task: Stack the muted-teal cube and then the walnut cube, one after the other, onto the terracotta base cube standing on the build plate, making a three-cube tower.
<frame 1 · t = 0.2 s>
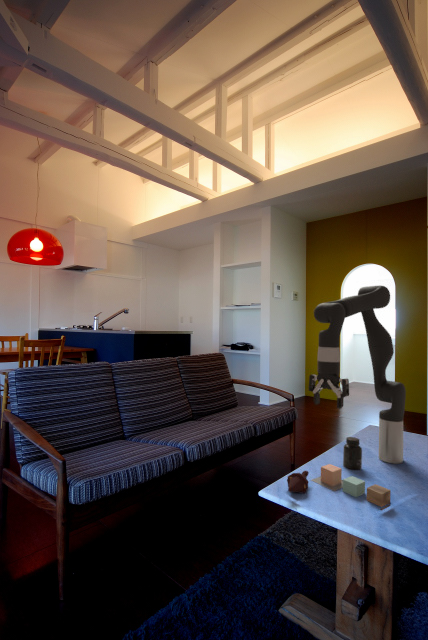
hand: (327, 406, 124), 28 cm above the table, fingers open, 8 cm apart
walnut brick: (378, 504, 112), on the table
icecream: (297, 494, 118), on the table
base brick: (330, 481, 125), point 1 cm above the table, touching build plate
teal brick: (353, 495, 118), on the table
supplement bottle: (352, 469, 139), on the table
build plate: (330, 484, 125), on the table
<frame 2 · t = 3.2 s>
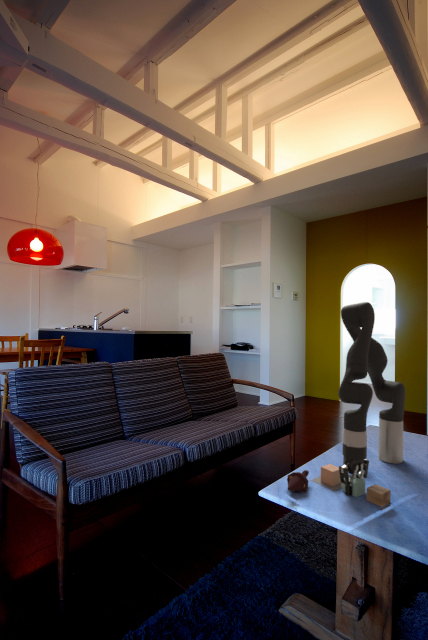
hand: (353, 493, 118), 0 cm above the table, fingers closed on teal brick, 5 cm apart
teal brick: (353, 495, 118), on the table, touching gripper
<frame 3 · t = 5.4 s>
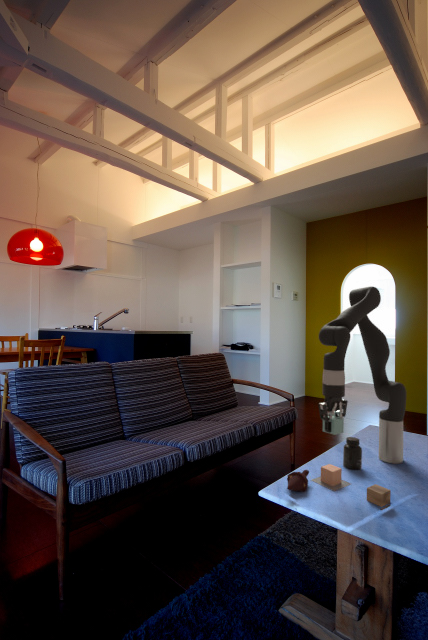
hand: (332, 430, 125), 19 cm above the table, fingers closed on teal brick, 5 cm apart
teal brick: (332, 431, 125), point 19 cm above the table, touching gripper
when the fingers open (7 cm above the table, at t = 8.1 s): teal brick stays where it is, resting on base brick.
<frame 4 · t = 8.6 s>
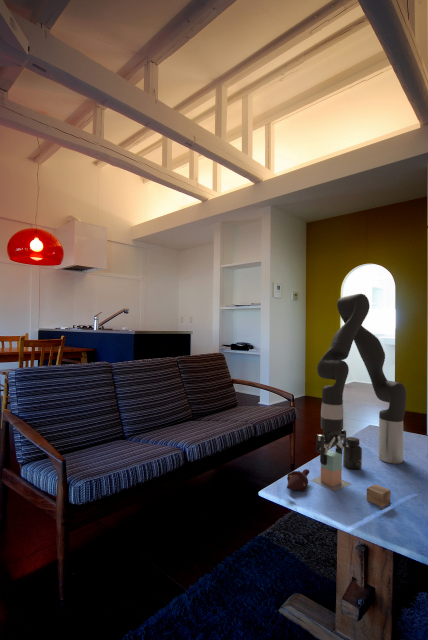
hand: (331, 461, 125), 8 cm above the table, fingers open, 8 cm apart
base brick: (330, 481, 125), point 1 cm above the table, touching build plate, teal brick
teal brick: (331, 467, 125), point 6 cm above the table, touching base brick
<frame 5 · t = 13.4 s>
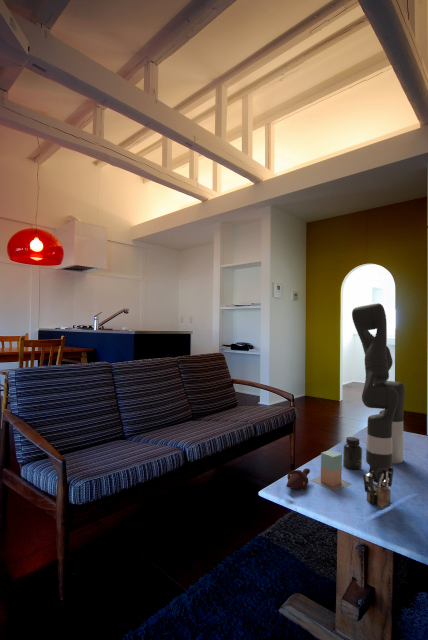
hand: (378, 502, 112), 0 cm above the table, fingers closed on walnut brick, 5 cm apart
walnut brick: (378, 504, 112), on the table, touching gripper
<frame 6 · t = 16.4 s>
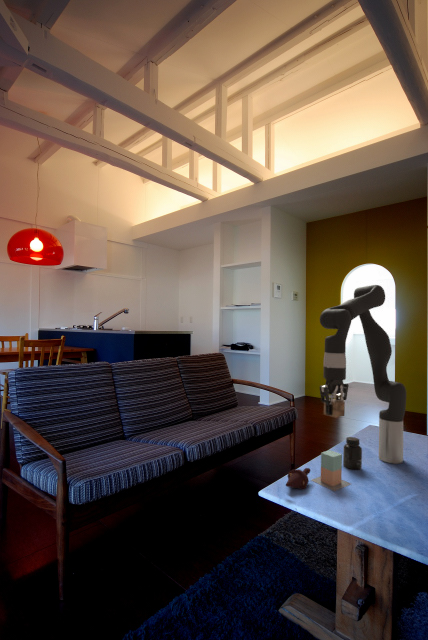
hand: (333, 413, 125), 25 cm above the table, fingers closed on walnut brick, 5 cm apart
walnut brick: (334, 415, 125), point 25 cm above the table, touching gripper
when the fingers open (12 cm above the table, at t = 19.4 s): walnut brick stays where it is, resting on teal brick.
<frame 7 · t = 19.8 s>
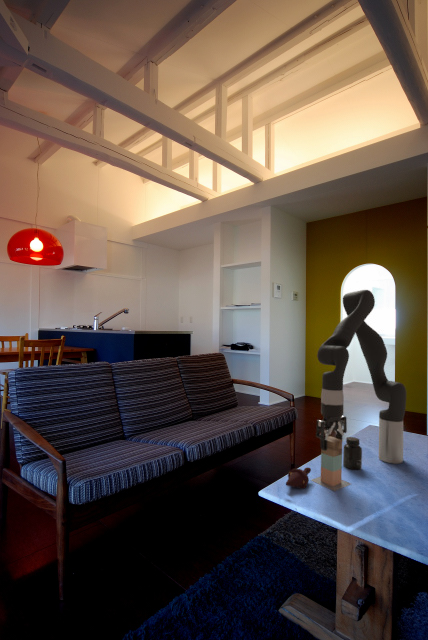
hand: (331, 447, 125), 13 cm above the table, fingers open, 8 cm apart
walnut brick: (331, 453, 125), point 11 cm above the table, touching teal brick
teal brick: (331, 467, 125), point 6 cm above the table, touching base brick, walnut brick
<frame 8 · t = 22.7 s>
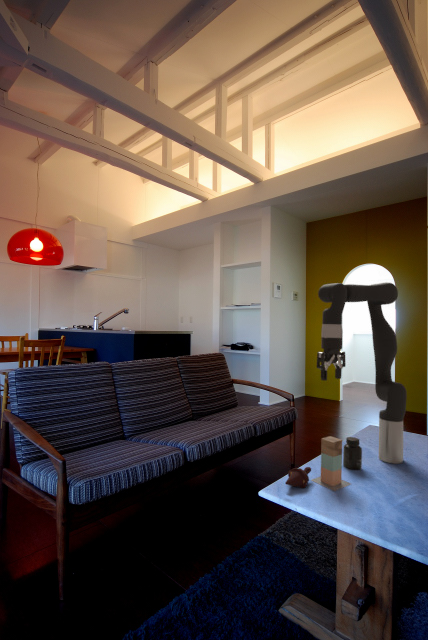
hand: (331, 379, 133), 36 cm above the table, fingers open, 8 cm apart
at the end: teal brick 0.1 cm off-centre on the base brick, point 5.0 cm above the base brick's base; walnut brick 0.1 cm off-centre on the base brick, point 10.0 cm above the base brick's base; the gripper is holding nothing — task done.
